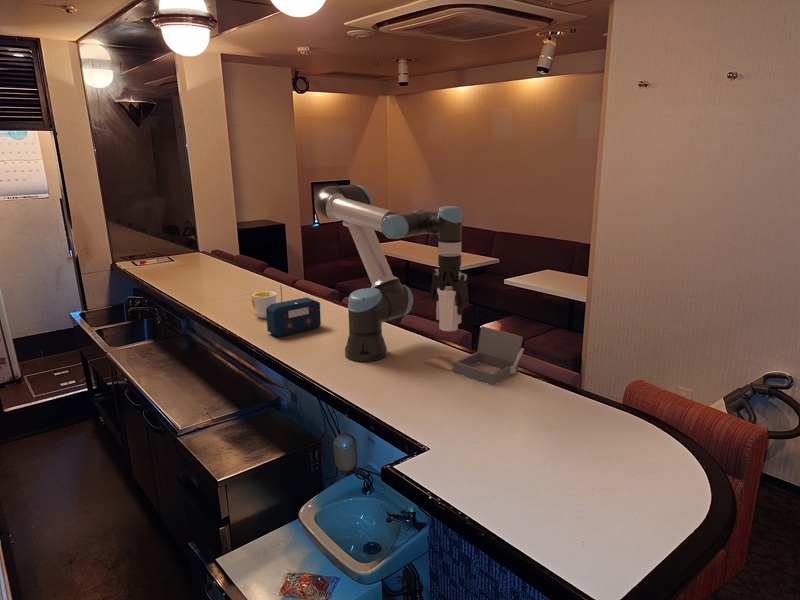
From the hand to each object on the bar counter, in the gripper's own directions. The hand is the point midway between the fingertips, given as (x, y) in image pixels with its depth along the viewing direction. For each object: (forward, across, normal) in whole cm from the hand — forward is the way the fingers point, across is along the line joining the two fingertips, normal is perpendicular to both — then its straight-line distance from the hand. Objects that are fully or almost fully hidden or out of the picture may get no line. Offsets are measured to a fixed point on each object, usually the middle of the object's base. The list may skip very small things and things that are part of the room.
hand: (448, 321), depth 184 cm
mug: (+15, +96, +13) cm, 98 cm away
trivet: (+15, 0, 0) cm, 15 cm away
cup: (+3, 0, 0) cm, 3 cm away
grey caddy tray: (+15, -15, -3) cm, 22 cm away
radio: (+15, +68, +16) cm, 71 cm away
